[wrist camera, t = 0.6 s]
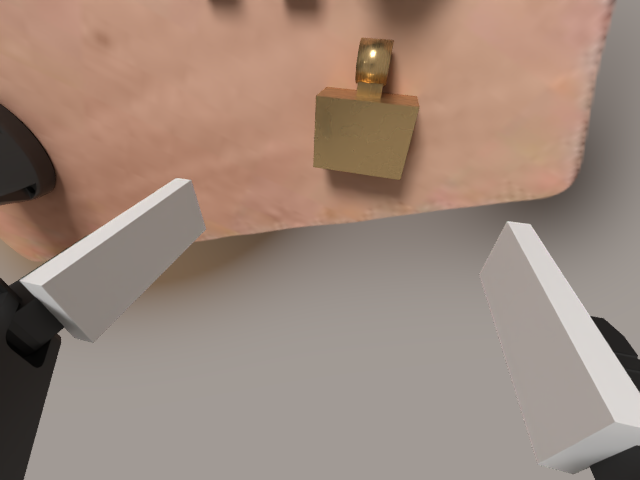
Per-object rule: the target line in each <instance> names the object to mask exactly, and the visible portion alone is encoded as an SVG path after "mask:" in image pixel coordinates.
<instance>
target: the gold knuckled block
mask: <svg viewBox="0 0 640 480" xmlns="http://www.w3.org/2000/svg"><path fill="white" fill-rule="evenodd" d="M393 42H394V40H386V39H373V38H361V41H360V45H359V51H358V57H357V65H356V83H358V86H357V90H351V89H342V88H332V87H326V88H325V89H324V90H322V91H321V92H320V93H319V94H318V95H316V112H315V137H314V163H313V167H316V168H323V169H330V170H336V171H343V172H350V173H356V174H363V175H370V176H376V177H383V178H390V179H396V180H400V179H401V175H402V171H403V168H404V164H405V160H406V156H407V152H408V149H409V145H410V141H411V137H412V133H413V130H414V126H415V122H416V118H417V114H418V111H419V103H418V99H417V96H408V95H399V94H389V93H382V90H383V86H386V81H387V76H388V70H389V65H390V59H391V54H392V48H393Z"/></svg>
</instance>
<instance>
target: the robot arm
mask: <svg viewBox="0 0 640 480" xmlns="http://www.w3.org/2000/svg"><path fill="white" fill-rule="evenodd" d="M54 186H55V173H54V169H53V167H52V164H51V162H50V160H49V158H48V156H47V154H46V152H45V151H44V149H43V148H42V146H41V145H40V143H39V142H38V141H37V139H36V138H35V137H34V136H33V134H32V133H31V132H30V131H29V130H28V129H27V128H26V127H25V126H24V125H23V123H21V122H20V121H19V120H18V119H17V118H16V117H15V116H14V115H13V114H12V113H11V112H9V111H8V110H7V109H6V108H5V107H3V106H2V105H1V104H0V205H4V204H10V203H17V202H23V201H29V200H33V199H36V198H38V197H41V196H43V195H45V194H47V193H49V192H51V191H52V190H53V188H54ZM205 230H206V227H205V224H204V221H203V217H202V214H201V211H200V207H199V204H198V201H197V198H196V194H195V191H194V188H193V184H192V181H191V180H188V179H180V178H176V179H174V180H173V181H171V182H170V183H168V184H166V185H165V186H163V187H162V188H160V189H159V190H157V191H156V192H154V193H153V194H151V195H150V196H148V197H147V198H145V199H143V200H142V201H140V202H139V203H137V204H136V205H134V206H133V207H131V208H130V209H128V210H127V211H125V212H124V213H122V214H120V215H119V216H117V217H116V218H114V219H113V220H111V221H110V222H108V223H107V224H105V225H104V226H102V227H101V228H99V229H97V230H96V231H94V232H93V233H91V234H90V235H87V236H85V237H84V238H82V239H81V240H79V241H78V242H76V243H75V244H73V245H72V246H71V247H68V248H67V249H65V250H64V251H62V252H61V254H59V255H56V256H55V257H53V258H51V259H50V260H48V261H47V262H45V263H44V264H42V265H41V266H39V267H38V268H36V269H35V270H33V271H31V272H30V273H29V274H27V275H25V276H24V277H22V278H21V279H19V280H18V281H16V282H14V283H13V284H11V285H9V286H8V285H7V284H6V283H5V282H4V281H3V280H2V279H1V278H0V480H23V479H24V476H25V472H26V469H27V465H28V461H29V458H30V454H31V450H32V447H33V443H34V439H35V436H36V432H37V428H38V425H39V421H40V418H41V414H42V410H43V407H44V403H45V399H46V396H47V392H48V388H49V385H50V381H51V377H52V374H53V370H54V366H55V363H56V359H57V355H58V352H59V348H60V345H61V337H60V336H59V335H58V334H57V333H58V332H59V331H60V330H61V329H63V328H64V327H65V328H66V330H67V331H68V332H69V333H70V334H71V335H72V336H73V337H74V338H77V339H81V340H84V341H88V342H92V343H94V342H95V341H96V340H97V339H98V338H99V337H100V336H101V335H102V334H103V333H104V332H105V331H106V330H107V329H108V328H109V327H110V326H111V325H112V323H114V322H115V321H116V320H117V319H118V317H120V315H122V314H123V312H124V311H125V310H126V309H127V308H128V307H129V306H130V305H131V304H132V303H133V302H134V301H135V300H136V299H137V298H138V297H139V296H140V295H141V294H142V293H143V292H144V291H145V290H146V289H147V288H148V287H149V286H150V285H151V284H152V283H153V282H154V281H155V280H156V279H157V278H158V277H159V276H160V275H161V274H162V273H163V272H164V271H165V270H166V269H167V268H168V267H169V266H170V265H171V264H172V263H173V262H174V261H175V260H176V259H177V258H178V257H179V256H180V255H181V254H182V253H183V252H184V251H185V250H186V249H187V248H188V247H189V246H190V245H191V244H192V243H193V242H194V241H195V240H196V239H197V238H198V237H199V236H200V235H201V234H202V233H203V232H204V231H205ZM479 275H480V279H481V282H482V286H483V289H484V292H485V295H486V299H487V302H488V305H489V308H490V312H491V315H492V318H493V321H494V324H495V328H496V331H497V334H498V338H499V341H500V344H501V347H502V351H503V354H504V357H505V361H506V364H507V367H508V370H509V374H510V377H511V380H512V383H513V386H514V390H515V393H516V396H517V399H518V402H519V406H520V409H521V413H522V416H523V419H524V422H525V425H526V429H527V432H528V435H529V439H530V442H531V445H532V448H533V452H534V455H535V458H536V461H537V464H538V465H541V466H546V467H549V468H552V469H556V470H560V471H563V472H568V473H571V474H575V473H577V472H579V471H582V470H584V469H587V468H589V467H590V468H591V471H592V473H593V475H594V478H595V480H640V360H639V359H638V358H637V357H638V355H637V354H636V352H635V351H634V349H633V348H632V347H631V345H630V344H629V343H628V341H627V340H626V339H625V337H624V336H623V335H622V334H621V333H620V332H619V331H617V330H616V329H615V328H614V327H613V326H612V325H610V324H609V323H608V322H607V321H606V320H605V319H603V318H598V317H592V316H589V314H588V312H587V311H586V309H585V308H584V306H583V305H582V303H581V302H580V300H579V299H578V297H577V296H576V294H575V292H574V291H573V289H572V288H571V286H570V285H569V283H568V282H567V280H566V279H565V277H564V276H563V274H562V273H561V271H560V269H559V268H558V266H557V265H556V263H555V262H554V260H553V259H552V257H551V255H550V254H549V252H548V251H547V249H546V248H545V246H544V245H543V243H542V242H541V240H540V239H539V237H538V235H537V234H536V232H535V231H534V229H533V228H532V226H531V225H530V224H524V223H517V222H509V221H507V222H506V224H505V227H504V228H503V230H502V232H501V234H500V236H499V238H498V240H497V241H496V243H495V245H494V247H493V249H492V251H491V253H490V255H489V257H488V259H487V260H486V262H485V264H484V266H483V268H482V270H481V272H480V274H479Z"/></svg>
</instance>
